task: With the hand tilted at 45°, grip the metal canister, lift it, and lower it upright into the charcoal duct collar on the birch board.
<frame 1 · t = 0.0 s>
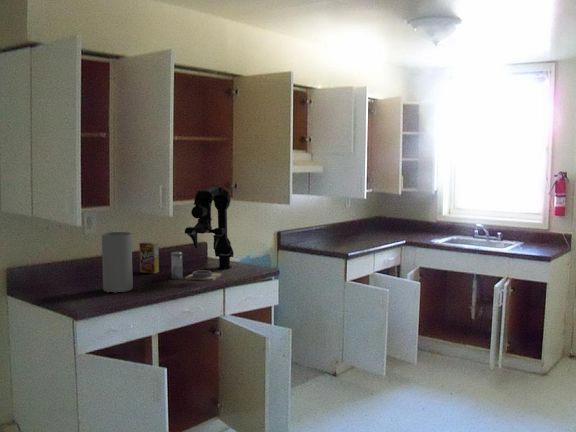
hand: (205, 248, 281), 15 cm above the countertop, tool pointing down, fingers open, 9 cm apart
duct collar: (202, 278, 283), resting on duct board
cylinder vase: (118, 290, 258), on the countertop
duct board: (204, 277, 286), on the countertop
metal canister: (177, 278, 283), on the countertop
candy box: (149, 272, 297), on the countertop
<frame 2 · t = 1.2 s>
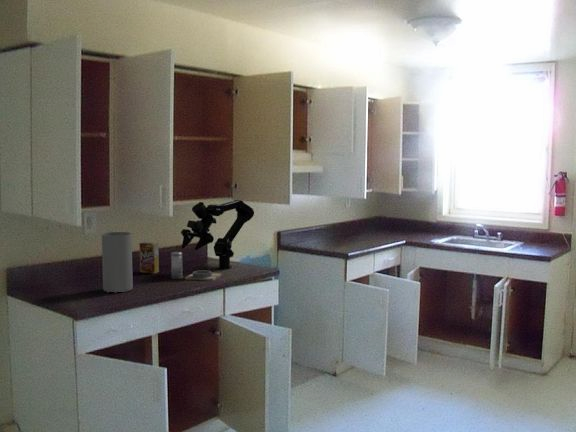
hand: (188, 248, 288), 13 cm above the countertop, tool tilted 45°, fingers open, 9 cm apart
nothing on the countertop moved.
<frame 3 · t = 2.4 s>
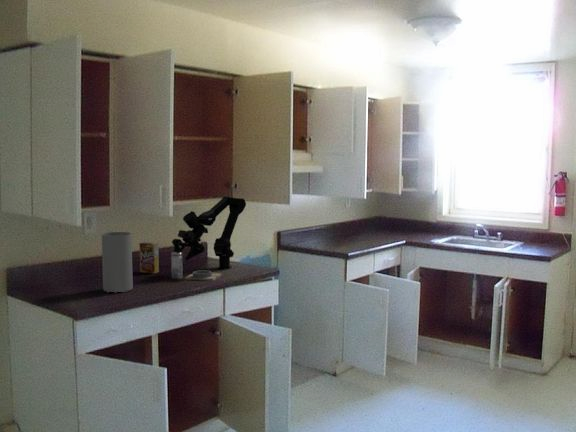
hand: (179, 259, 284), 9 cm above the countertop, tool tilted 45°, fingers open, 9 cm apart
nothing on the countertop moved.
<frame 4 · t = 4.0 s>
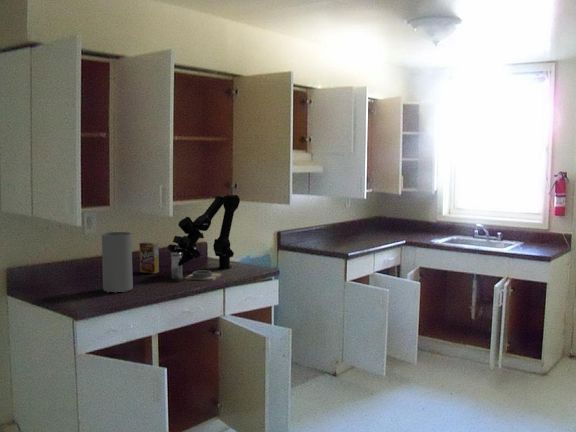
hand: (174, 265, 282), 7 cm above the countertop, tool tilted 45°, fingers closed on metal canister, 5 cm apart
metal canister: (177, 278, 283), on the countertop, touching gripper
everything else where it was.
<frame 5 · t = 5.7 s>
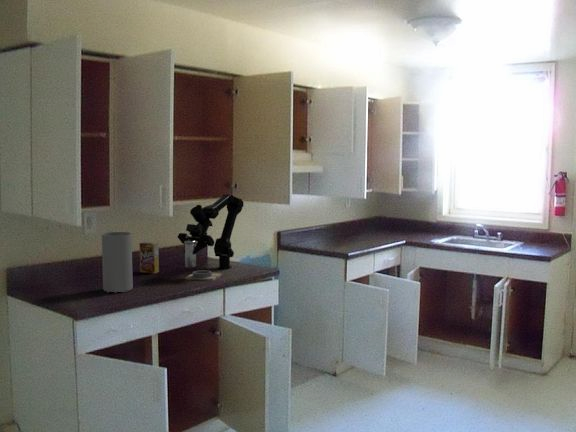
hand: (188, 253, 280), 12 cm above the countertop, tool tilted 45°, fingers closed on metal canister, 5 cm apart
metal canister: (190, 266, 282), point 6 cm above the countertop, touching gripper
everything else where it was.
when the fingers open (9 cm above the countertop, at t = 7.5 s): metal canister drops 1 cm, resting on duct board.
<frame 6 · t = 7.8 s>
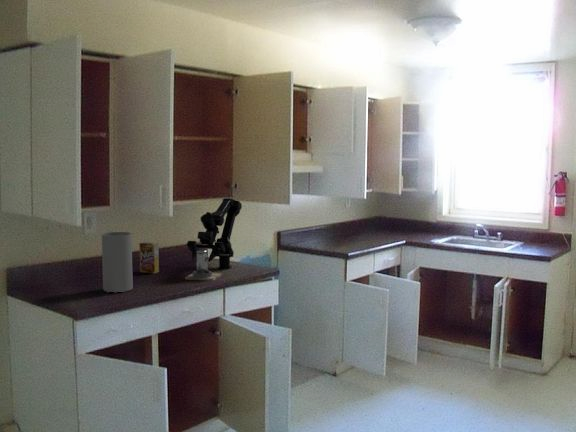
hand: (200, 260, 281), 9 cm above the countertop, tool tilted 45°, fingers open, 8 cm apart
metal canister: (202, 276, 283), point 1 cm above the countertop, touching duct board
everything else where it was.
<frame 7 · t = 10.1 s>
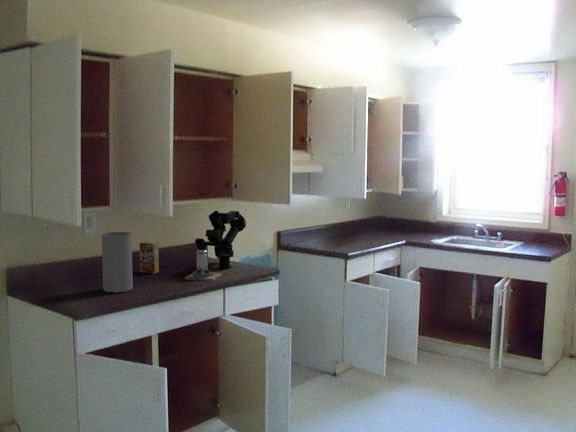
hand: (208, 257, 290), 9 cm above the countertop, tool tilted 45°, fingers open, 9 cm apart
nothing on the countertop moved.
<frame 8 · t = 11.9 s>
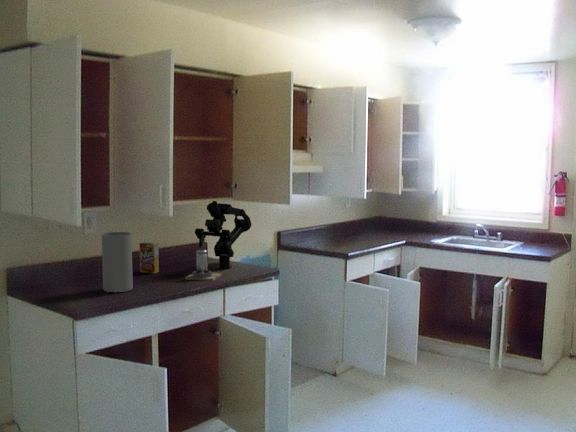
hand: (208, 247, 291), 14 cm above the countertop, tool tilted 45°, fingers open, 9 cm apart
nothing on the countertop moved.
at the end: metal canister 0.0 cm off-centre on the duct collar, point 1.0 cm above the duct collar's base; metal canister tilted 0°; the gripper is holding nothing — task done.
